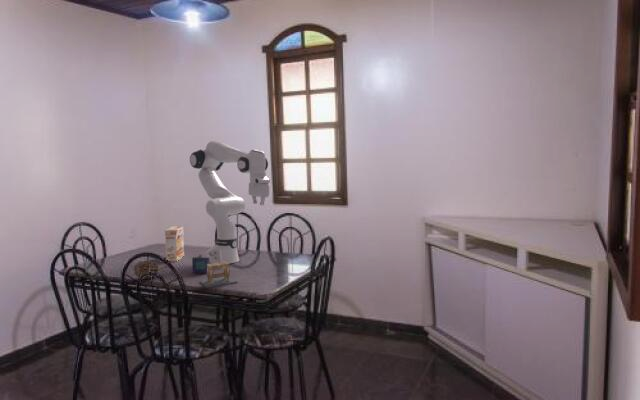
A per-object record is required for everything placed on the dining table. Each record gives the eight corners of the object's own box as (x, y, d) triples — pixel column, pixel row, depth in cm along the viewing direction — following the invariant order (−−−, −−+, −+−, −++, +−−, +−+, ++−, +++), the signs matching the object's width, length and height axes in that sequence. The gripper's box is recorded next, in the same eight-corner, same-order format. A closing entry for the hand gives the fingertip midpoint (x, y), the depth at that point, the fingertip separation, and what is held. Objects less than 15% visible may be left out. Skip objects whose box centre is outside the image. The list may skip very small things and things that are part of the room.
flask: (210, 272, 257) (209, 253, 256) (209, 273, 255) (208, 254, 253) (193, 272, 257) (192, 253, 255) (192, 274, 254) (191, 254, 253)
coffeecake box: (177, 261, 282) (176, 230, 280) (165, 261, 282) (164, 230, 280) (184, 256, 297) (183, 226, 295) (173, 256, 297) (172, 226, 295)
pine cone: (141, 283, 236) (140, 264, 235) (129, 280, 241) (128, 262, 240) (175, 273, 255) (175, 255, 254) (164, 271, 260) (163, 253, 259)
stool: (225, 261, 241) (206, 263, 236) (229, 263, 236) (210, 266, 231) (226, 278, 242) (207, 281, 236) (230, 280, 237) (210, 283, 232)
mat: (229, 277, 246) (229, 276, 246) (237, 282, 236) (237, 281, 236) (199, 282, 237) (199, 280, 237) (206, 287, 228) (206, 286, 228)
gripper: (245, 178, 263) (245, 203, 264) (260, 180, 245) (260, 206, 247) (255, 178, 266) (256, 202, 268) (271, 180, 249) (271, 205, 250)
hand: (258, 204), depth 257 cm, fingers open, 8 cm apart
